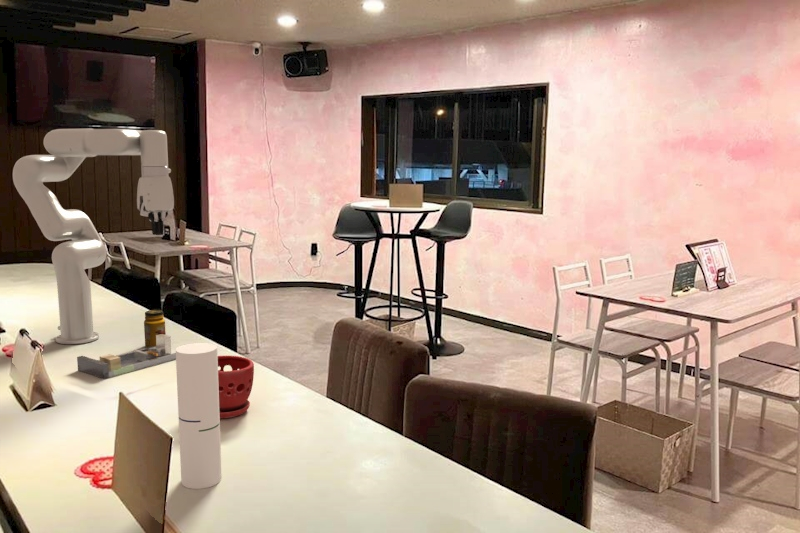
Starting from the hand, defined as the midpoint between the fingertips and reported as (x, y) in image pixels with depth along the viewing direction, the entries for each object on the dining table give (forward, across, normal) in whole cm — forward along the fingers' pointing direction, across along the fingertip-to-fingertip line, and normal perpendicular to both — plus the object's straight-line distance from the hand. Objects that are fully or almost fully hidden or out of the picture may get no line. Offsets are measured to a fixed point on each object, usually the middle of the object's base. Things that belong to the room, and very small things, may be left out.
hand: (157, 234), depth 211 cm
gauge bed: (+35, +18, +10) cm, 41 cm away
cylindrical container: (+35, +51, +80) cm, 101 cm away
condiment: (+35, +3, -1) cm, 36 cm away
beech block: (+34, +24, +10) cm, 43 cm away
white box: (+34, +11, +11) cm, 37 cm away
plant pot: (+35, +25, +57) cm, 72 cm away
